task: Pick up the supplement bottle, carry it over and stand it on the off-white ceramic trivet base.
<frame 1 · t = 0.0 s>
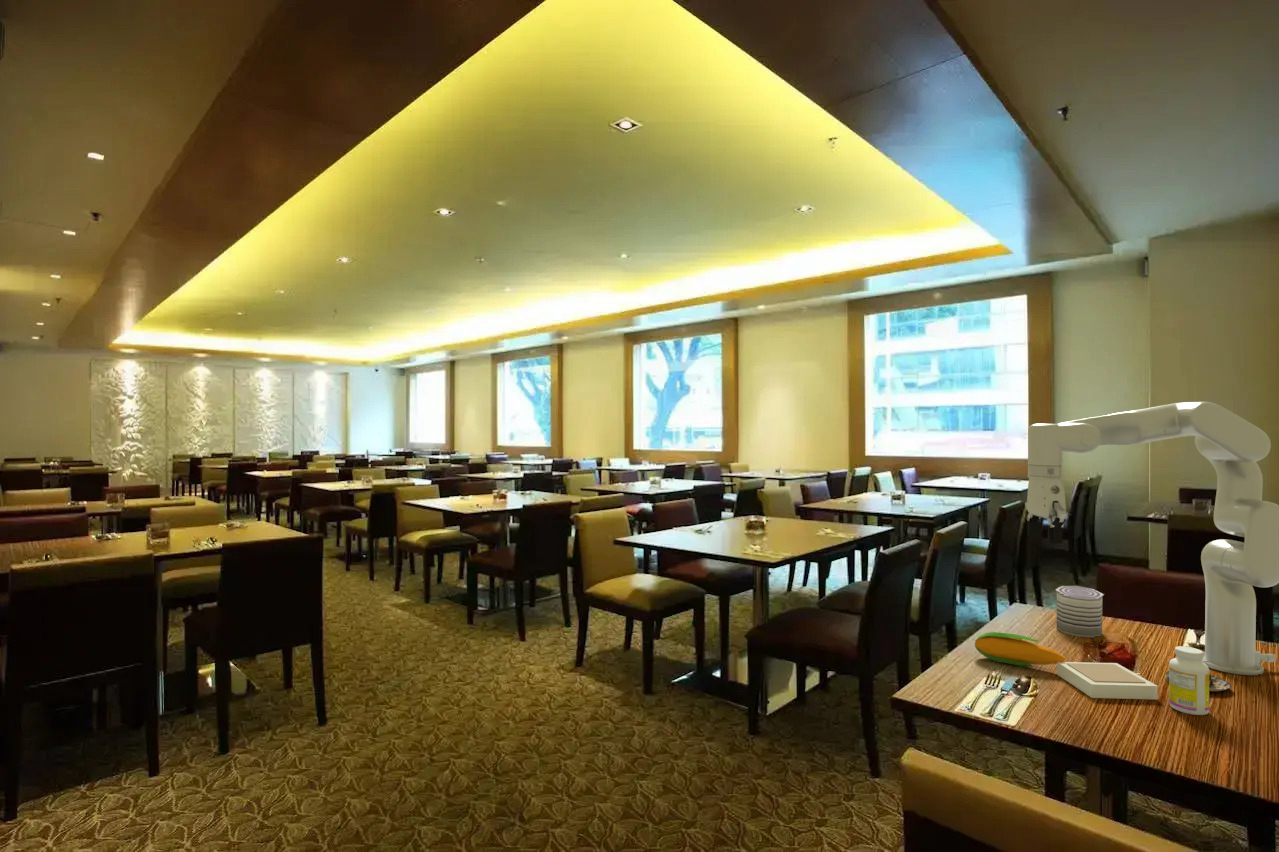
hand: (1044, 539, 172), 31 cm above the table, fingers open, 9 cm apart
supplement bottle: (1188, 710, 144), on the table
burger: (1197, 687, 158), on the table
can: (1079, 632, 198), on the table
corn: (1019, 665, 171), on the table, touching trivet base
trivet base: (1104, 686, 157), on the table
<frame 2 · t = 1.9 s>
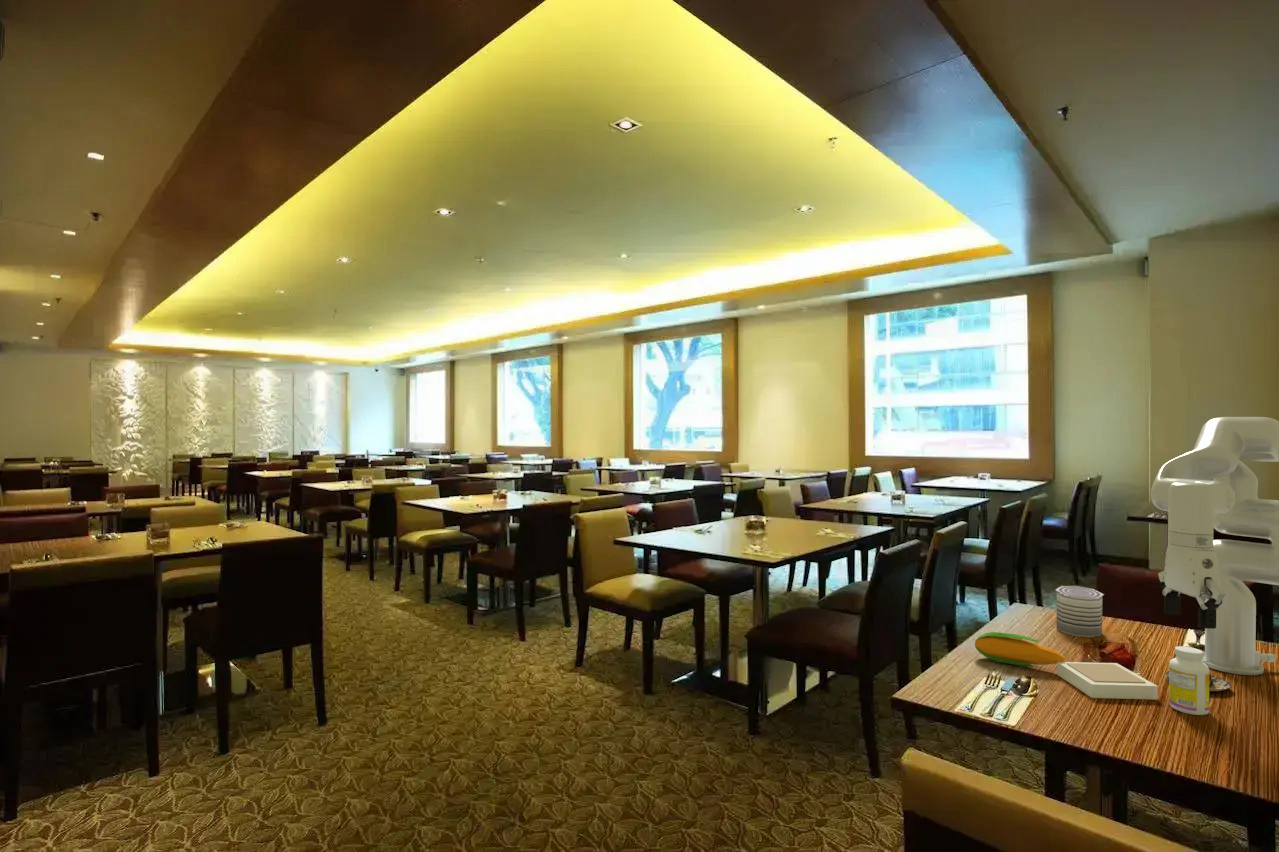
hand: (1189, 621, 144), 19 cm above the table, fingers open, 9 cm apart
nothing on the table moved.
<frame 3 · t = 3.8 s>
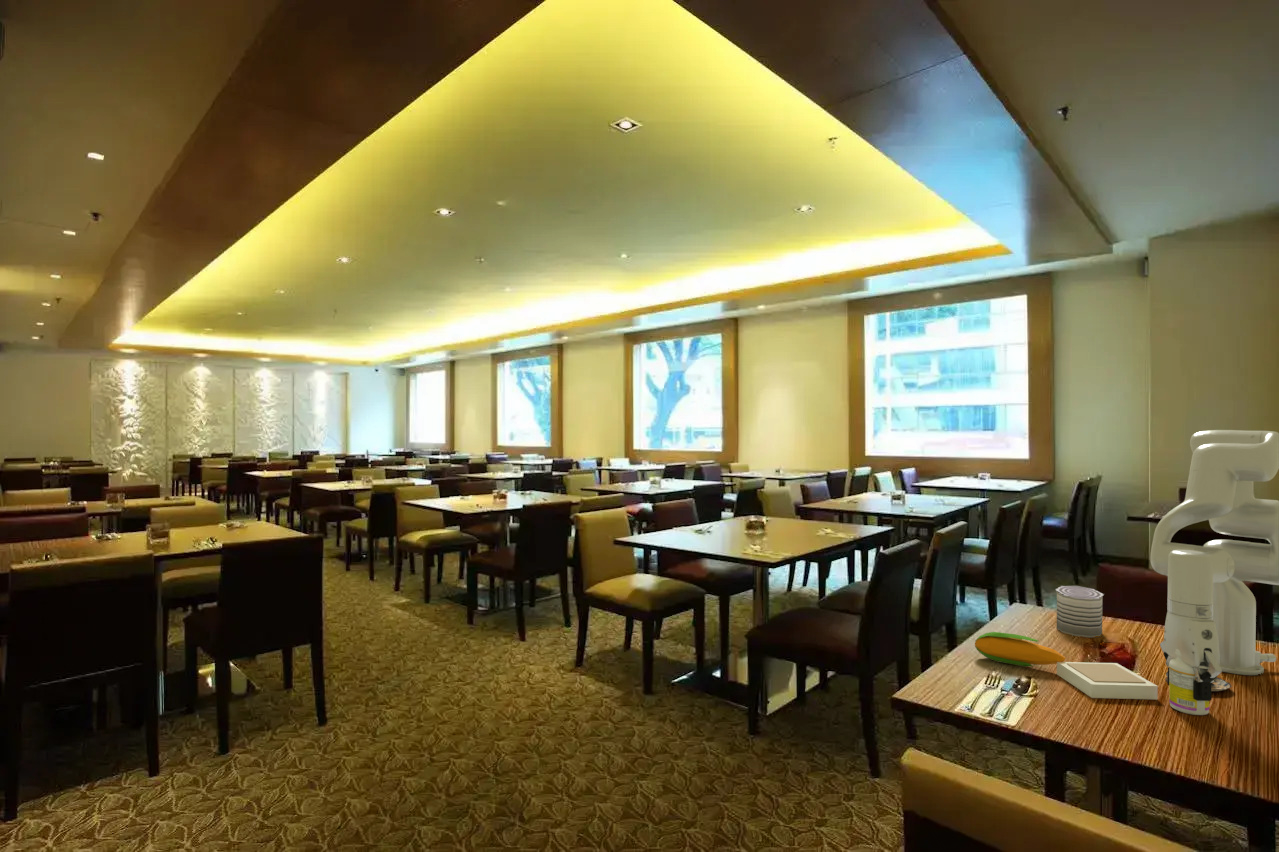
hand: (1188, 692, 144), 4 cm above the table, fingers closed on supplement bottle, 6 cm apart
supplement bottle: (1188, 710, 144), on the table, touching gripper
everything else where it was.
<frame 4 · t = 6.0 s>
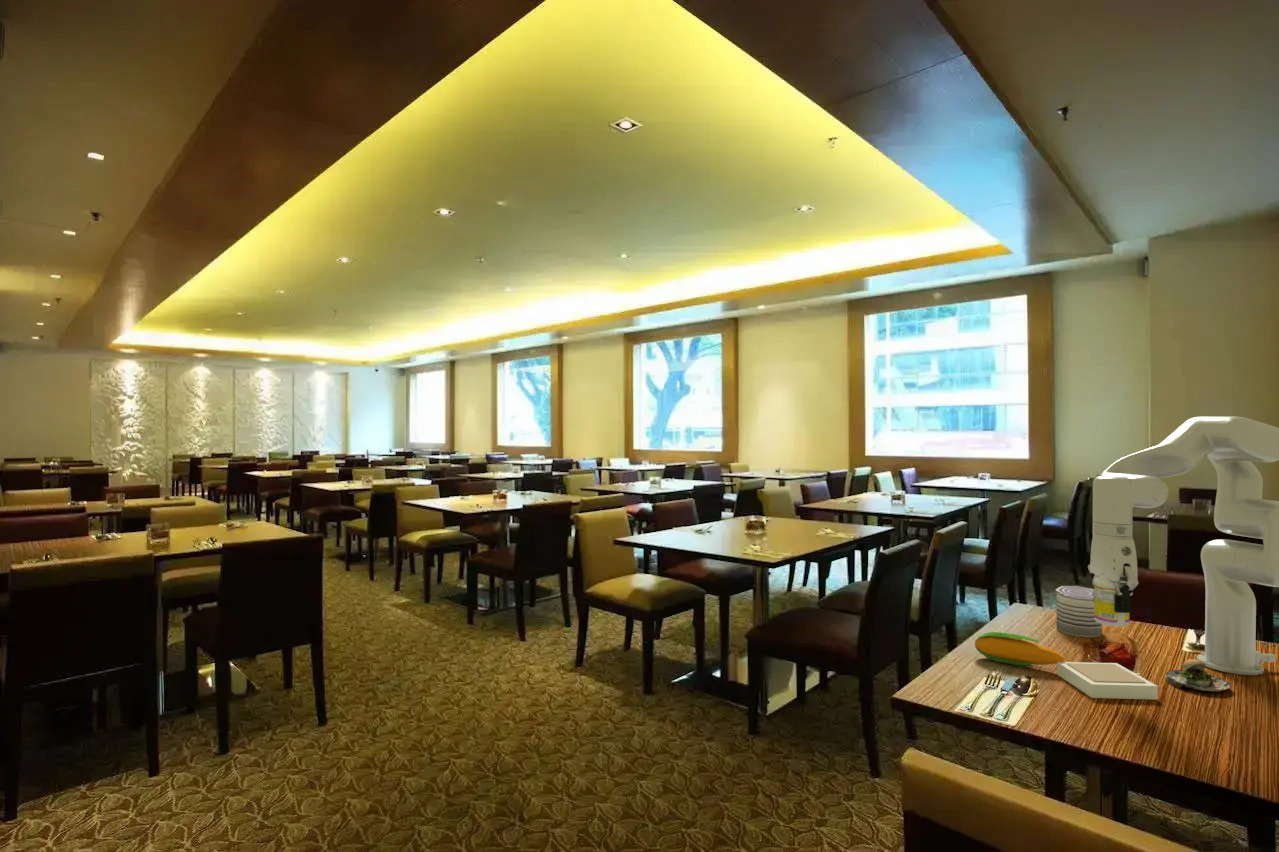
hand: (1111, 607, 156), 19 cm above the table, fingers closed on supplement bottle, 6 cm apart
supplement bottle: (1111, 624, 156), point 15 cm above the table, touching gripper
everything else where it was.
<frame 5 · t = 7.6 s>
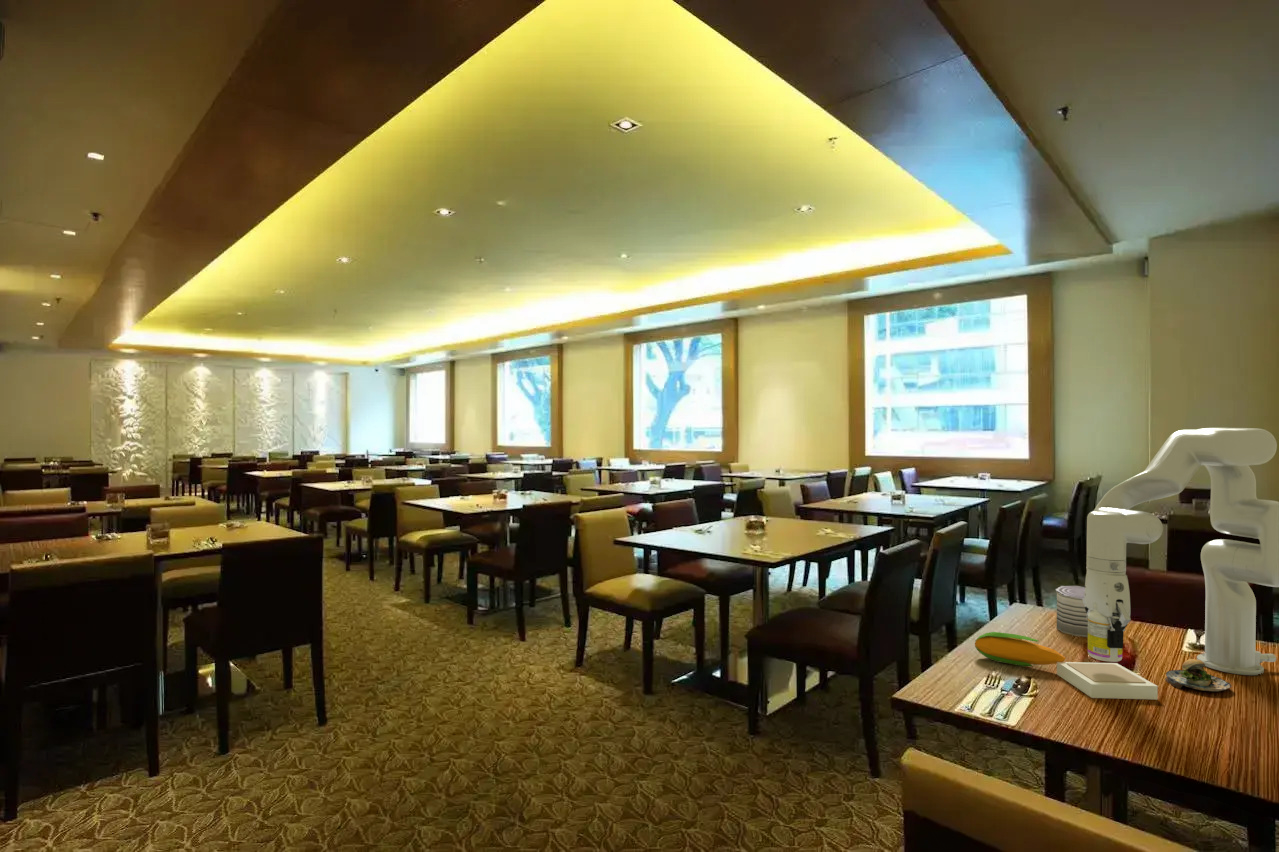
hand: (1104, 641, 157), 10 cm above the table, fingers closed on supplement bottle, 6 cm apart
supplement bottle: (1104, 658, 157), point 6 cm above the table, touching gripper
everything else where it was.
when the fingers open (8 cm above the table, at t = 8.6 s): supplement bottle stays where it is, resting on trivet base.
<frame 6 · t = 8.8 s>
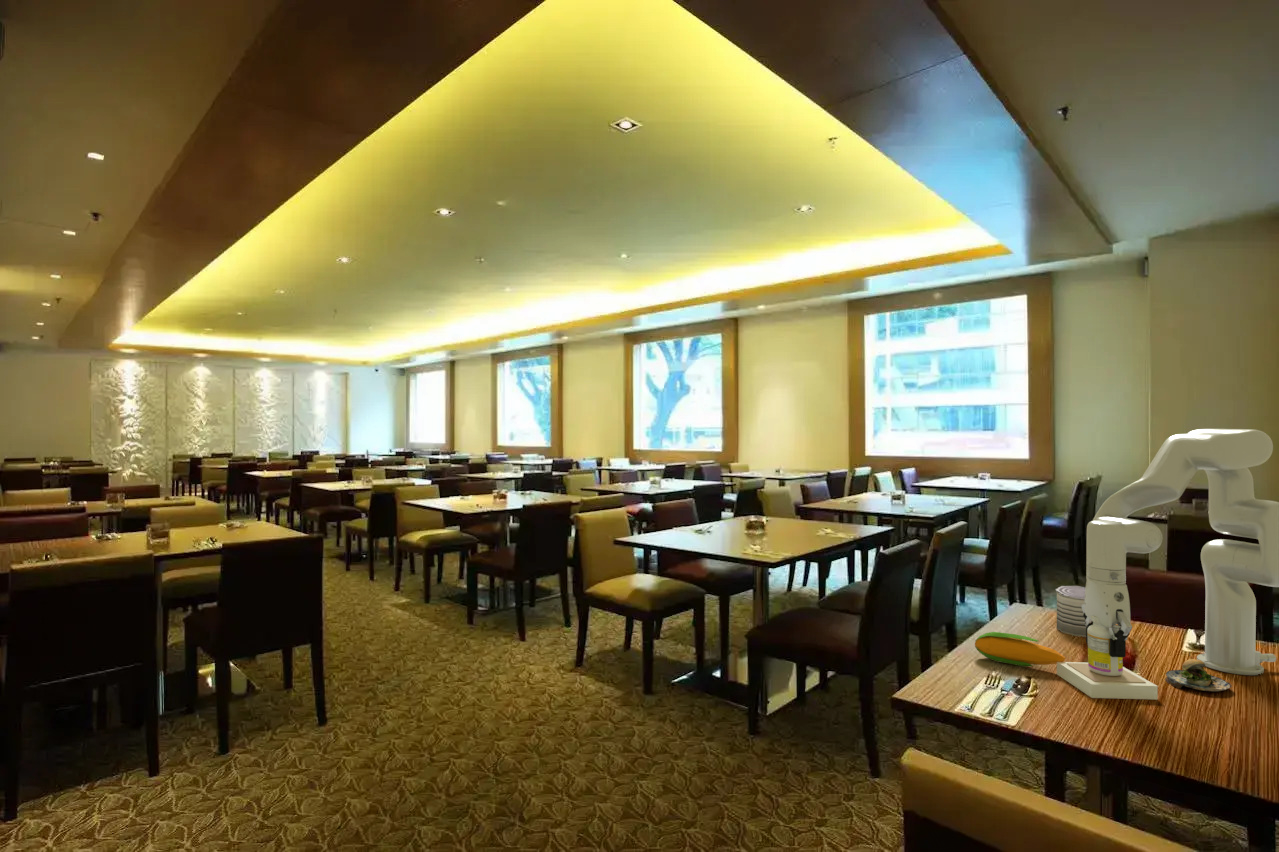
hand: (1105, 649, 157), 8 cm above the table, fingers open, 8 cm apart
supplement bottle: (1105, 672, 157), point 3 cm above the table, touching trivet base
everything else where it was.
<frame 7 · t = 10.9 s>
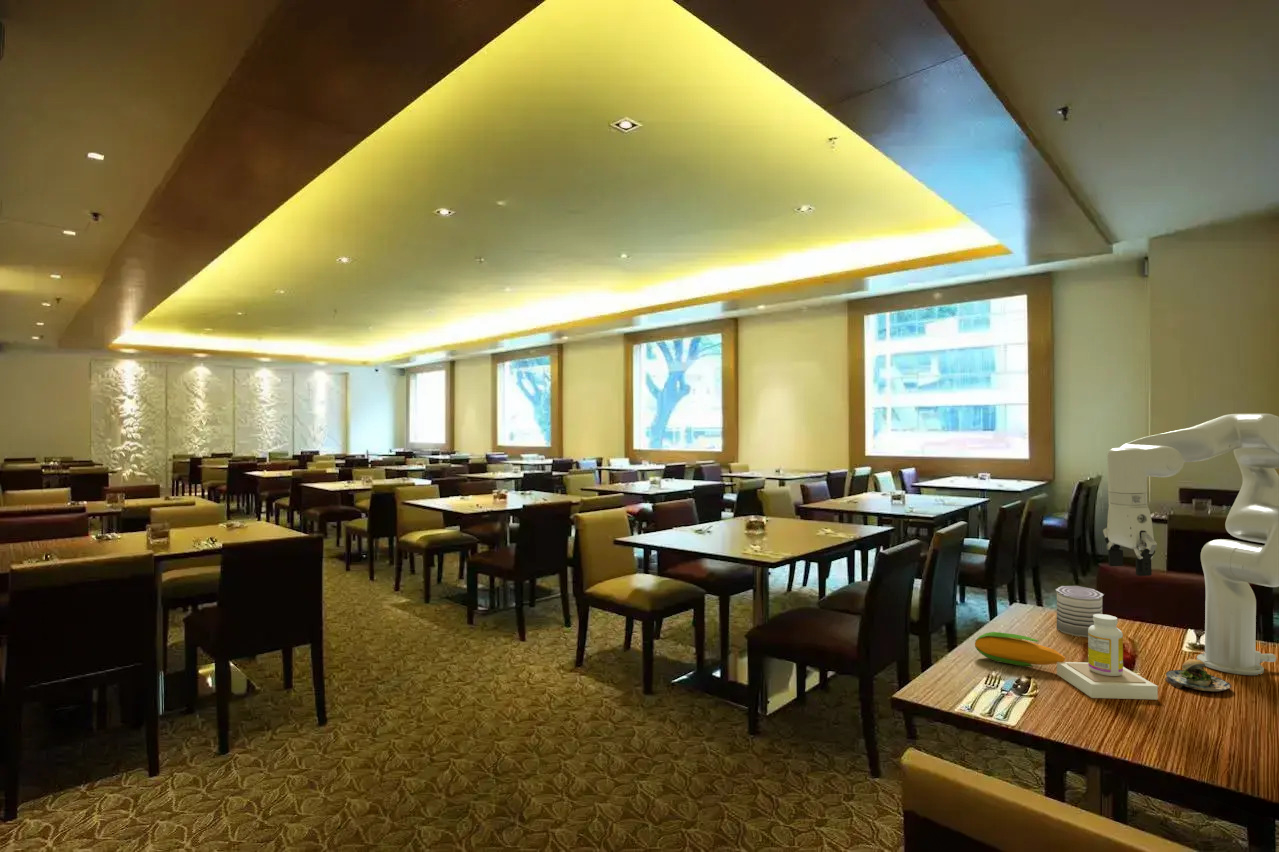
hand: (1129, 570, 162), 26 cm above the table, fingers open, 9 cm apart
nothing on the table moved.
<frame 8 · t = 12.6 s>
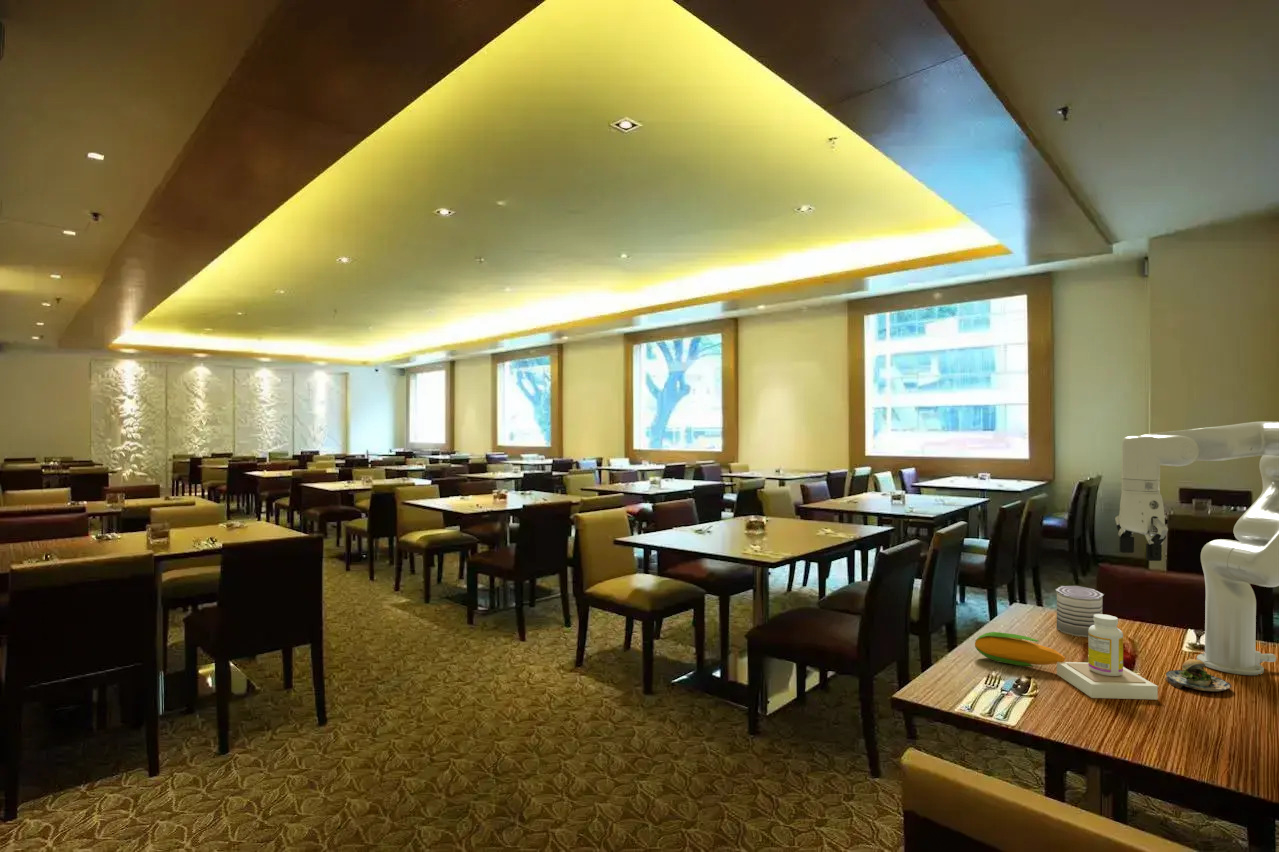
hand: (1139, 556, 166), 28 cm above the table, fingers open, 9 cm apart
nothing on the table moved.
at the end: supplement bottle inside the target area on the trivet base (0.2 cm from its centre), point 3.1 cm above the trivet base's base; supplement bottle tilted 0°; the gripper is holding nothing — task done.
